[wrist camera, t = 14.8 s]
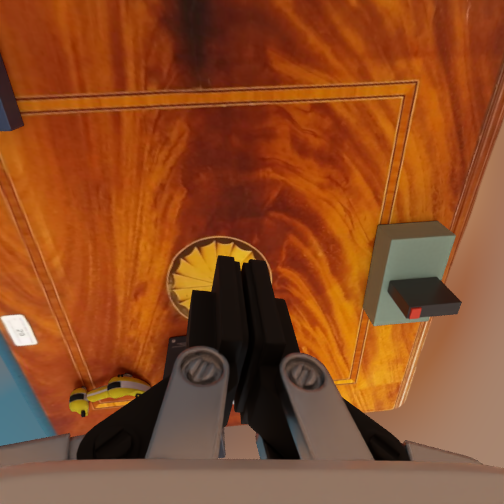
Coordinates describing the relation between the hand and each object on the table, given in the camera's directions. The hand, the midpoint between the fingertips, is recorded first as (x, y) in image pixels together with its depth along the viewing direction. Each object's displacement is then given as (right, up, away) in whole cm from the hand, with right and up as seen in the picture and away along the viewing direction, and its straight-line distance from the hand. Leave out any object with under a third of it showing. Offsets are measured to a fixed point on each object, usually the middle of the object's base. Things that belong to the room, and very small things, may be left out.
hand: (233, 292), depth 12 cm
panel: (+18, 0, +29) cm, 35 cm away
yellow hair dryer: (-19, -17, +35) cm, 43 cm away
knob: (+19, -2, +26) cm, 33 cm away
